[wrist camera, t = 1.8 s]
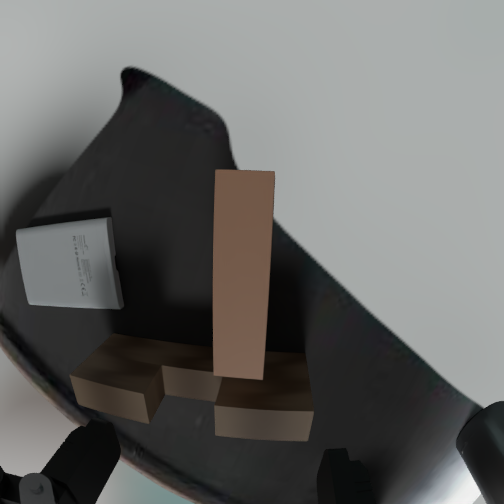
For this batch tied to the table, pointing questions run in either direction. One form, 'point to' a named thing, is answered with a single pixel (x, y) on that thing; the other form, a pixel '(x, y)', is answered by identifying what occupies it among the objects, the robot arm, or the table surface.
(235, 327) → the reddish brown block
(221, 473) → the table surface
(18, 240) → the external hard drive
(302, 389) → the notched walnut block
